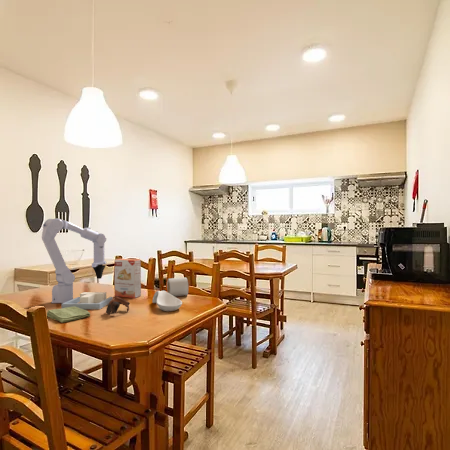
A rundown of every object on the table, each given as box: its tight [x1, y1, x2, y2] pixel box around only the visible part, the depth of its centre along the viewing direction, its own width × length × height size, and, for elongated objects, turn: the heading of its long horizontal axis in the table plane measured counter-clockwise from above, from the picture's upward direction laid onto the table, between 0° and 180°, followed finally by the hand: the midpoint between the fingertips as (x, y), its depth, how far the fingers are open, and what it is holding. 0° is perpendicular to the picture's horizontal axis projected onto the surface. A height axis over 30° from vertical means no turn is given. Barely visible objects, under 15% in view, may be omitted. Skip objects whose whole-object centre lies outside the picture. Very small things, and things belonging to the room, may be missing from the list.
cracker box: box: [114, 258, 142, 299], centre depth 178 cm, size 14×6×21 cm, turn 68°
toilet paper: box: [166, 277, 189, 297], centre depth 178 cm, size 10×10×10 cm
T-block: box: [79, 291, 107, 303], centre depth 159 cm, size 12×12×5 cm
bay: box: [61, 296, 114, 310], centre depth 158 cm, size 18×16×2 cm
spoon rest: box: [151, 290, 183, 312], centre depth 152 cm, size 24×12×7 cm, turn 33°
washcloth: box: [46, 306, 91, 324], centre depth 137 cm, size 13×18×3 cm
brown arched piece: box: [105, 296, 131, 316], centre depth 142 cm, size 12×10×8 cm
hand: (99, 278), depth 180 cm, fingers closed
